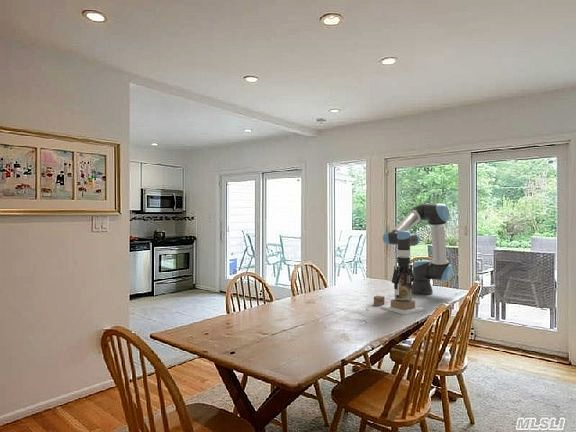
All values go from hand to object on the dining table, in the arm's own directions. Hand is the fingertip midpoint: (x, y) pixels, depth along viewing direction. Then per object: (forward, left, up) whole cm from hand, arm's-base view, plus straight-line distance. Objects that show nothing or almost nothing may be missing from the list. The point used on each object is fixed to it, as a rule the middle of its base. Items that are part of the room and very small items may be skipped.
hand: (403, 293), depth 236 cm
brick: (+3, -16, -9) cm, 19 cm away
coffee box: (0, 0, -4) cm, 4 cm away
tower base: (0, 0, -9) cm, 9 cm away
